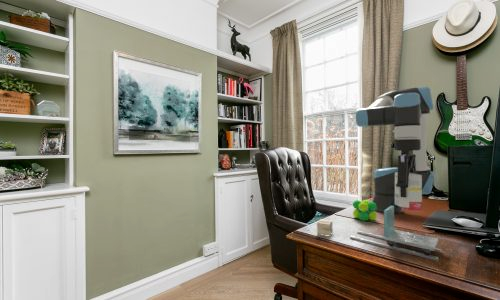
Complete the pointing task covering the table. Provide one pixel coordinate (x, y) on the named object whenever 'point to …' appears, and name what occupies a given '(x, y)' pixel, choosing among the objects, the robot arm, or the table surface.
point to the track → (394, 246)
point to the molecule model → (364, 210)
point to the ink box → (411, 191)
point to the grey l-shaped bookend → (406, 235)
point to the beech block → (324, 227)
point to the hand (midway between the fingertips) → (407, 204)
